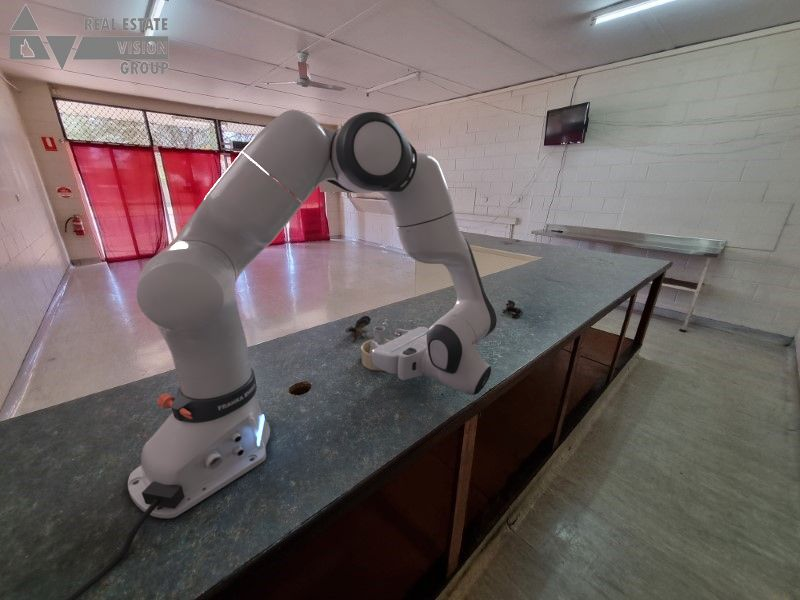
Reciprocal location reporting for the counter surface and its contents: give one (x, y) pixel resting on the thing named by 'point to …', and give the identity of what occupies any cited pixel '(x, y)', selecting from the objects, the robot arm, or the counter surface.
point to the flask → (379, 336)
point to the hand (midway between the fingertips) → (384, 336)
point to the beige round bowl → (369, 355)
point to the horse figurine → (512, 309)
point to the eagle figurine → (359, 327)
